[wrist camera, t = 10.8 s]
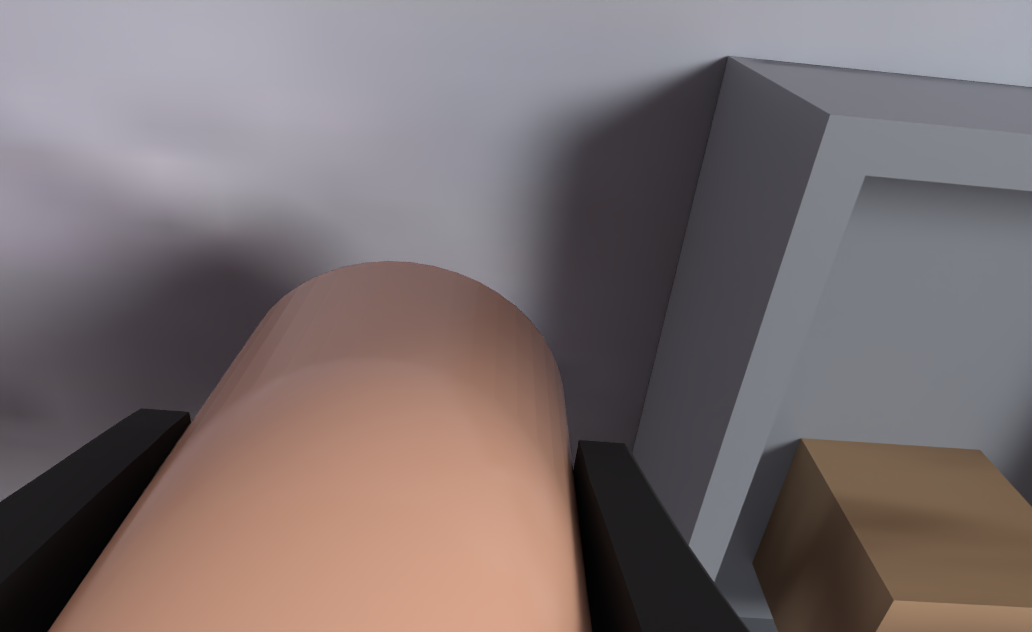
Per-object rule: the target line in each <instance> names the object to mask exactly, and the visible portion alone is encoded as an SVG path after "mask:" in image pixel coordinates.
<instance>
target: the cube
mask: <svg viewBox="0 0 1032 632" xmlns="http://www.w3.org/2000/svg"><path fill="white" fill-rule="evenodd" d="M752 565H753V567H754V570H755V573H756V575H757V578H758V580H759V583H760V586H761V588H762V591H763V594H764V596H765V599H766V601H767V604H768V607H769V609H770V612H771V615H772V617H773V620H774V623H775V625H776V628H777V630H778V632H1032V507H1031V506H1030V504H1029V503H1028V502H1027V501H1026V500H1025V499H1024V498H1023V497H1022V496H1021V494H1020V493H1019V492H1018V491H1017V490H1016V489H1015V488H1014V487H1013V486H1012V485H1011V483H1010V482H1009V481H1008V480H1007V479H1006V478H1005V477H1004V476H1003V475H1002V473H1001V472H1000V471H999V470H998V469H997V468H996V467H995V466H994V465H993V464H992V462H991V461H990V460H989V459H988V458H987V457H986V456H985V455H984V454H983V452H982V451H981V450H976V449H961V448H945V447H930V446H915V445H899V444H884V443H868V442H853V441H838V440H822V439H807V438H801V440H800V443H799V445H798V448H797V450H796V453H795V455H794V458H793V460H792V463H791V465H790V468H789V471H788V473H787V476H786V478H785V481H784V483H783V486H782V488H781V491H780V494H779V496H778V499H777V501H776V504H775V506H774V509H773V511H772V514H771V517H770V519H769V522H768V524H767V527H766V529H765V532H764V534H763V537H762V539H761V542H760V545H759V547H758V550H757V552H756V555H755V557H754V560H753V562H752Z"/></svg>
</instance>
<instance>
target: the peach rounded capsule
mask: <svg viewBox="0 0 1032 632" xmlns="http://www.w3.org/2000/svg"><path fill="white" fill-rule="evenodd" d="M48 632H592V624H591V616H590V607H589V599H588V591H587V582H586V574H585V566H584V557H583V549H582V541H581V532H580V524H579V516H578V507H577V499H576V491H575V482H574V474H573V466H572V457H571V449H570V440H569V432H568V424H567V415H566V407H565V399H564V390H563V385H562V380H561V376H560V371H559V368H558V366H557V363H556V361H555V358H554V355H553V353H552V351H551V350H550V348H549V346H548V344H547V343H546V341H545V339H544V337H543V336H542V335H541V333H540V332H539V331H538V330H537V328H536V327H535V326H534V324H533V323H532V322H531V321H530V320H529V319H528V318H527V317H526V316H525V315H524V314H523V313H522V312H521V311H520V310H519V309H518V308H517V307H516V306H515V305H514V304H512V303H511V302H510V301H508V300H507V299H506V298H504V297H503V296H502V295H500V294H499V293H497V292H496V291H494V290H492V289H490V288H489V287H487V286H485V285H483V284H482V283H480V282H478V281H476V280H473V279H471V278H469V277H466V276H464V275H461V274H459V273H456V272H453V271H449V270H446V269H443V268H439V267H436V266H430V265H424V264H418V263H412V262H394V261H383V262H370V263H361V264H356V265H351V266H346V267H341V268H338V269H335V270H332V271H330V272H327V273H324V274H321V275H319V276H317V277H315V278H313V279H311V280H309V281H307V282H305V283H303V284H301V285H299V286H298V287H296V288H295V289H293V290H292V291H291V292H289V293H288V294H286V295H285V296H284V297H282V298H281V299H280V300H279V301H278V302H277V303H276V304H275V305H274V306H273V307H272V308H271V309H270V310H269V311H268V312H267V314H266V315H265V316H264V318H263V319H262V320H261V322H260V323H259V324H258V325H257V327H256V328H255V330H254V331H253V333H252V334H251V336H250V337H249V339H248V340H247V342H246V343H245V344H244V346H243V347H242V349H241V350H240V352H239V353H238V355H237V356H236V358H235V359H234V361H233V362H232V363H231V365H230V366H229V368H228V369H227V371H226V372H225V374H224V375H223V377H222V378H221V379H220V381H219V382H218V384H217V385H216V387H215V388H214V390H213V391H212V393H211V394H210V396H209V397H208V398H207V400H206V401H205V403H204V404H203V406H202V407H201V409H200V410H199V412H198V413H197V415H196V416H195V417H194V419H193V420H192V422H191V423H190V425H189V426H188V428H187V429H186V431H185V432H184V433H183V435H182V436H181V438H180V439H179V441H178V442H177V444H176V445H175V447H174V448H173V450H172V451H171V452H170V454H169V455H168V457H167V458H166V460H165V461H164V463H163V464H162V466H161V467H160V468H159V470H158V471H157V473H156V474H155V476H154V477H153V479H152V480H151V482H150V483H149V485H148V486H147V487H146V489H145V490H144V492H143V493H142V495H141V496H140V498H139V499H138V501H137V502H136V504H135V505H134V506H133V508H132V509H131V511H130V512H129V514H128V515H127V517H126V518H125V520H124V521H123V522H122V524H121V525H120V527H119V528H118V530H117V531H116V533H115V534H114V536H113V537H112V539H111V540H110V541H109V543H108V544H107V546H106V547H105V549H104V550H103V552H102V553H101V555H100V556H99V558H98V559H97V560H96V562H95V563H94V565H93V566H92V568H91V569H90V571H89V572H88V574H87V575H86V576H85V578H84V579H83V581H82V582H81V584H80V585H79V587H78V588H77V590H76V591H75V593H74V594H73V595H72V597H71V598H70V600H69V601H68V603H67V604H66V606H65V607H64V609H63V610H62V611H61V613H60V614H59V616H58V617H57V619H56V620H55V622H54V623H53V625H52V626H51V628H50V629H49V630H48Z"/></svg>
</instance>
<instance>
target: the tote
mask: <svg viewBox="0 0 1032 632" xmlns="http://www.w3.org/2000/svg"><path fill="white" fill-rule="evenodd" d="M801 438H807V439H822V440H838V441H853V442H868V443H884V444H899V445H915V446H930V447H945V448H961V449H976V450H981V451H982V452H983V454H984V455H985V456H986V457H987V458H988V459H989V460H990V461H991V462H992V464H993V465H994V466H995V467H996V468H997V469H998V470H999V471H1000V472H1001V473H1002V475H1003V476H1004V477H1005V478H1006V479H1007V480H1008V481H1009V482H1010V483H1011V485H1012V486H1013V487H1014V488H1015V489H1016V490H1017V491H1018V492H1019V493H1020V494H1021V496H1022V497H1023V498H1024V499H1025V500H1026V501H1027V502H1028V503H1029V504H1030V506H1031V507H1032V87H1024V86H1014V85H1004V84H995V83H985V82H975V81H966V80H956V79H946V78H937V77H927V76H917V75H907V74H898V73H888V72H878V71H869V70H859V69H849V68H840V67H830V66H820V65H811V64H801V63H791V62H781V61H772V60H762V59H752V58H743V57H733V56H728V60H727V64H726V68H725V72H724V76H723V80H722V84H721V88H720V93H719V97H718V101H717V105H716V109H715V113H714V117H713V122H712V126H711V130H710V134H709V138H708V142H707V146H706V150H705V155H704V159H703V163H702V167H701V171H700V175H699V179H698V183H697V188H696V192H695V196H694V200H693V204H692V208H691V212H690V216H689V221H688V225H687V229H686V233H685V237H684V241H683V245H682V250H681V254H680V258H679V262H678V266H677V270H676V274H675V278H674V283H673V287H672V291H671V295H670V299H669V303H668V307H667V311H666V316H665V320H664V324H663V328H662V332H661V336H660V340H659V345H658V349H657V353H656V357H655V361H654V365H653V369H652V373H651V378H650V382H649V386H648V390H647V394H646V398H645V402H644V406H643V411H642V415H641V419H640V423H639V427H638V431H637V435H636V440H635V444H634V448H633V452H632V454H633V456H634V458H635V460H636V461H637V463H638V465H639V466H640V468H641V470H642V472H643V473H644V475H645V477H646V478H647V480H648V482H649V483H650V485H651V487H652V488H653V490H654V492H655V493H656V495H657V497H658V498H659V500H660V501H661V503H662V505H663V506H664V508H665V509H666V511H667V513H668V514H669V516H670V517H671V519H672V520H673V522H674V524H675V525H676V527H677V528H678V530H679V531H680V533H681V534H682V536H683V537H684V539H685V540H686V542H687V544H688V545H689V547H690V548H691V549H692V551H693V552H694V554H695V555H696V557H697V558H698V560H699V561H700V562H701V564H702V565H703V567H704V568H705V570H706V571H707V573H708V574H709V576H710V577H711V578H712V580H713V581H714V583H715V584H716V586H717V587H718V589H719V590H720V591H721V593H722V594H723V596H724V597H725V598H726V600H727V601H728V602H729V604H730V605H731V607H732V608H733V609H734V611H735V612H736V613H737V615H738V616H739V618H740V619H741V620H742V621H743V623H744V624H745V625H746V627H747V628H748V629H749V631H750V632H778V630H777V628H776V625H775V623H774V620H773V617H772V615H771V612H770V609H769V607H768V604H767V601H766V599H765V596H764V594H763V591H762V588H761V586H760V583H759V580H758V578H757V575H756V573H755V570H754V567H753V565H752V562H753V560H754V557H755V555H756V552H757V550H758V547H759V545H760V542H761V539H762V537H763V534H764V532H765V529H766V527H767V524H768V522H769V519H770V517H771V514H772V511H773V509H774V506H775V504H776V501H777V499H778V496H779V494H780V491H781V488H782V486H783V483H784V481H785V478H786V476H787V473H788V471H789V468H790V465H791V463H792V460H793V458H794V455H795V453H796V450H797V448H798V445H799V443H800V440H801Z"/></svg>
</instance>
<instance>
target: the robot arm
mask: <svg viewBox="0 0 1032 632" xmlns="http://www.w3.org/2000/svg"><path fill="white" fill-rule="evenodd" d="M190 423H191V420H190V415H189V412H181V411H167V410H153V409H140V410H138V411H136V412H135V413H133V414H132V415H130V416H128V417H127V418H125V419H123V420H122V421H120V422H119V423H117V424H116V425H114V426H113V427H111V428H110V429H108V430H107V431H105V432H104V433H102V434H101V435H99V436H98V437H96V438H95V439H93V440H92V441H90V442H89V443H87V444H86V445H84V446H83V447H81V448H80V449H79V450H77V451H76V452H74V453H73V454H71V455H70V456H68V457H67V458H65V459H64V460H62V461H61V462H59V463H58V464H56V465H55V466H53V467H52V468H51V469H49V470H48V471H46V472H45V473H43V474H42V475H40V476H39V477H37V478H36V479H34V480H33V481H31V482H30V483H28V484H27V485H25V486H24V487H22V488H21V489H19V490H18V491H16V492H15V493H13V494H12V495H10V496H9V497H7V498H6V499H4V500H3V501H1V502H0V632H48V630H49V629H50V628H51V626H52V625H53V623H54V622H55V620H56V619H57V617H58V616H59V614H60V613H61V611H62V610H63V609H64V607H65V606H66V604H67V603H68V601H69V600H70V598H71V597H72V595H73V594H74V593H75V591H76V590H77V588H78V587H79V585H80V584H81V582H82V581H83V579H84V578H85V576H86V575H87V574H88V572H89V571H90V569H91V568H92V566H93V565H94V563H95V562H96V560H97V559H98V558H99V556H100V555H101V553H102V552H103V550H104V549H105V547H106V546H107V544H108V543H109V541H110V540H111V539H112V537H113V536H114V534H115V533H116V531H117V530H118V528H119V527H120V525H121V524H122V522H123V521H124V520H125V518H126V517H127V515H128V514H129V512H130V511H131V509H132V508H133V506H134V505H135V504H136V502H137V501H138V499H139V498H140V496H141V495H142V493H143V492H144V490H145V489H146V487H147V486H148V485H149V483H150V482H151V480H152V479H153V477H154V476H155V474H156V473H157V471H158V470H159V468H160V467H161V466H162V464H163V463H164V461H165V460H166V458H167V457H168V455H169V454H170V452H171V451H172V450H173V448H174V447H175V445H176V444H177V442H178V441H179V439H180V438H181V436H182V435H183V433H184V432H185V431H186V429H187V428H188V426H189V425H190ZM573 474H574V482H575V491H576V499H577V507H578V516H579V524H580V532H581V541H582V549H583V557H584V566H585V574H586V582H587V591H588V599H589V607H590V616H591V624H592V632H750V631H749V629H748V628H747V627H746V625H745V624H744V623H743V621H742V620H741V619H740V618H739V616H738V615H737V613H736V612H735V611H734V609H733V608H732V607H731V605H730V604H729V602H728V601H727V600H726V598H725V597H724V596H723V594H722V593H721V591H720V590H719V589H718V587H717V586H716V584H715V583H714V581H713V580H712V578H711V577H710V576H709V574H708V573H707V571H706V570H705V568H704V567H703V565H702V564H701V562H700V561H699V560H698V558H697V557H696V555H695V554H694V552H693V551H692V549H691V548H690V547H689V545H688V544H687V542H686V540H685V539H684V537H683V536H682V534H681V533H680V531H679V530H678V528H677V527H676V525H675V524H674V522H673V520H672V519H671V517H670V516H669V514H668V513H667V511H666V509H665V508H664V506H663V505H662V503H661V501H660V500H659V498H658V497H657V495H656V493H655V492H654V490H653V488H652V487H651V485H650V483H649V482H648V480H647V478H646V477H645V475H644V473H643V472H642V470H641V468H640V466H639V465H638V463H637V461H636V460H635V458H634V456H633V454H632V453H631V451H630V450H629V449H628V447H627V446H626V445H625V444H622V443H609V442H595V441H581V440H579V443H578V448H577V454H576V459H575V465H574V470H573Z"/></svg>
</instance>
